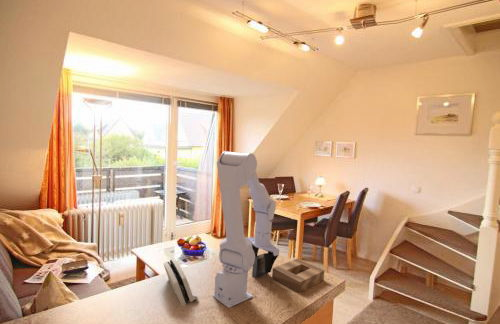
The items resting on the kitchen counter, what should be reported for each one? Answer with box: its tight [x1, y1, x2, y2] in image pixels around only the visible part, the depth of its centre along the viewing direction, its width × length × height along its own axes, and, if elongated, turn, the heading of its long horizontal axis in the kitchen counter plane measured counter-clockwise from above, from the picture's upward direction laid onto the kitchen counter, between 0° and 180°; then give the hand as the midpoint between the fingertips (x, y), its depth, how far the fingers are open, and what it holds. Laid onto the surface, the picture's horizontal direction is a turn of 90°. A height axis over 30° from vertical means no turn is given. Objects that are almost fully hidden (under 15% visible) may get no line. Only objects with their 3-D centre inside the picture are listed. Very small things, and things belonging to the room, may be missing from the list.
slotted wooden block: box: [271, 258, 325, 293], centre depth 98 cm, size 14×12×4 cm
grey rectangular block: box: [251, 252, 269, 279], centre depth 99 cm, size 6×2×7 cm, turn 133°
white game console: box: [163, 258, 200, 307], centre depth 85 cm, size 17×5×10 cm, turn 29°
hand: (260, 268), depth 99 cm, fingers open, 7 cm apart
